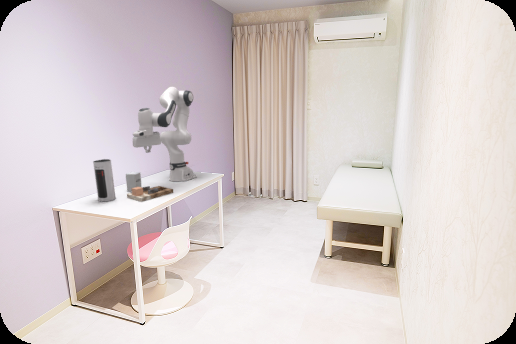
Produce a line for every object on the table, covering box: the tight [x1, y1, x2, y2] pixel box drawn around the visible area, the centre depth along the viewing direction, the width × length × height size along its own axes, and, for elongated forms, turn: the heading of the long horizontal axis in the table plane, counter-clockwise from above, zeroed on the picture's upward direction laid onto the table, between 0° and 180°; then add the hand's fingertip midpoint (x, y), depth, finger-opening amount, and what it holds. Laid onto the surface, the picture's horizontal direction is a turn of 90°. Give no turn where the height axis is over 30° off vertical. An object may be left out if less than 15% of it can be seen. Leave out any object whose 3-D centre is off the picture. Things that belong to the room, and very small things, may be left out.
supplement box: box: [125, 171, 143, 193], centre depth 230 cm, size 7×7×13 cm
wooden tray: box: [126, 185, 174, 203], centre depth 218 cm, size 25×16×5 cm, turn 142°
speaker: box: [92, 158, 116, 203], centre depth 207 cm, size 11×10×26 cm
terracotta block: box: [131, 186, 143, 196], centre depth 210 cm, size 5×5×4 cm
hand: (148, 152), depth 225 cm, fingers closed
